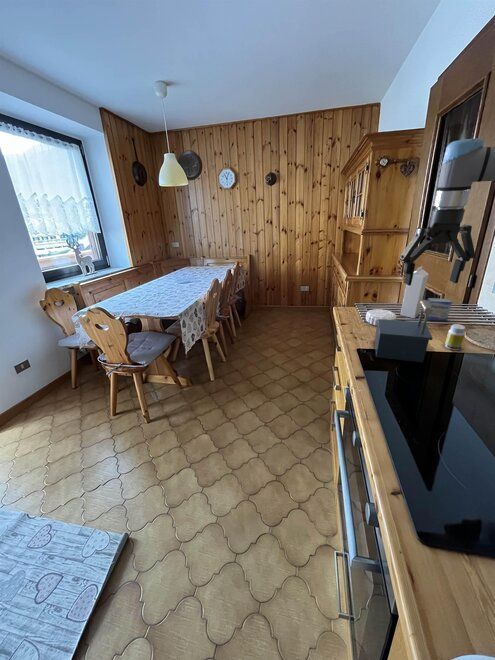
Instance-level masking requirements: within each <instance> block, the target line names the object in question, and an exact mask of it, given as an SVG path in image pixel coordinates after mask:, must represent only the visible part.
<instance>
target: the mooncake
mask: <svg viewBox="0 0 495 660" xmlns="http://www.w3.org/2000/svg"><path fill="white" fill-rule="evenodd" d="M365 314H366V315H365V321H366V322H367V323H368V324H370V325H373V326H375V327H377V323H378V319H385V320H397V314H396V313H395V312H393V311H391V310H387V309H382V308H375V309H370V310H368V311H367V312H366V313H365Z"/></svg>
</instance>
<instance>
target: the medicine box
mask: <svg viewBox="0 0 495 660" xmlns="http://www.w3.org/2000/svg"><path fill="white" fill-rule="evenodd" d="M427 301H428V303H429V305H430V306H431V308H432V310H433V312H432V313H431V314H429V315H428V319H427V321H444V322H445V321H446V322H447V321H448V316H449V314H450V311H451V308H452V304H453V302H452V301H451V299H450V298H438V297H428V298H427ZM423 316H424V317H425V313H424V312H423Z"/></svg>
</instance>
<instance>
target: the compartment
mask: <svg viewBox="0 0 495 660" xmlns="http://www.w3.org/2000/svg"><path fill="white" fill-rule="evenodd" d="M429 342H430V340H426V339H415V338H404V337H393V336H383V335H380V332H379V325H378V323H377V326H376V328H375V335H374V350H375V357H376V358H378V359H379V358H380V359H389V360H398V361H407V362H415V363H424V360H425V357H426V352H427V349H428V345H429Z"/></svg>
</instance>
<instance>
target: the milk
mask: <svg viewBox="0 0 495 660" xmlns="http://www.w3.org/2000/svg"><path fill="white" fill-rule="evenodd" d="M428 279H429V273H428V272H427V271H426V270H425V269H423V265H421V266H419V267H418V268H416V270H414V273H413V278H412V283H411V285H407V284H405V289H404V295H403V300H402V305H401V308H400V313H399V315H400V316H403V317H407V318H411V319H415V318H416V317H418V316H420V313H421V309H422V307H421V305H420V302H421V301H422V300H424V297H425V290H426V287H427V282H428Z"/></svg>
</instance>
